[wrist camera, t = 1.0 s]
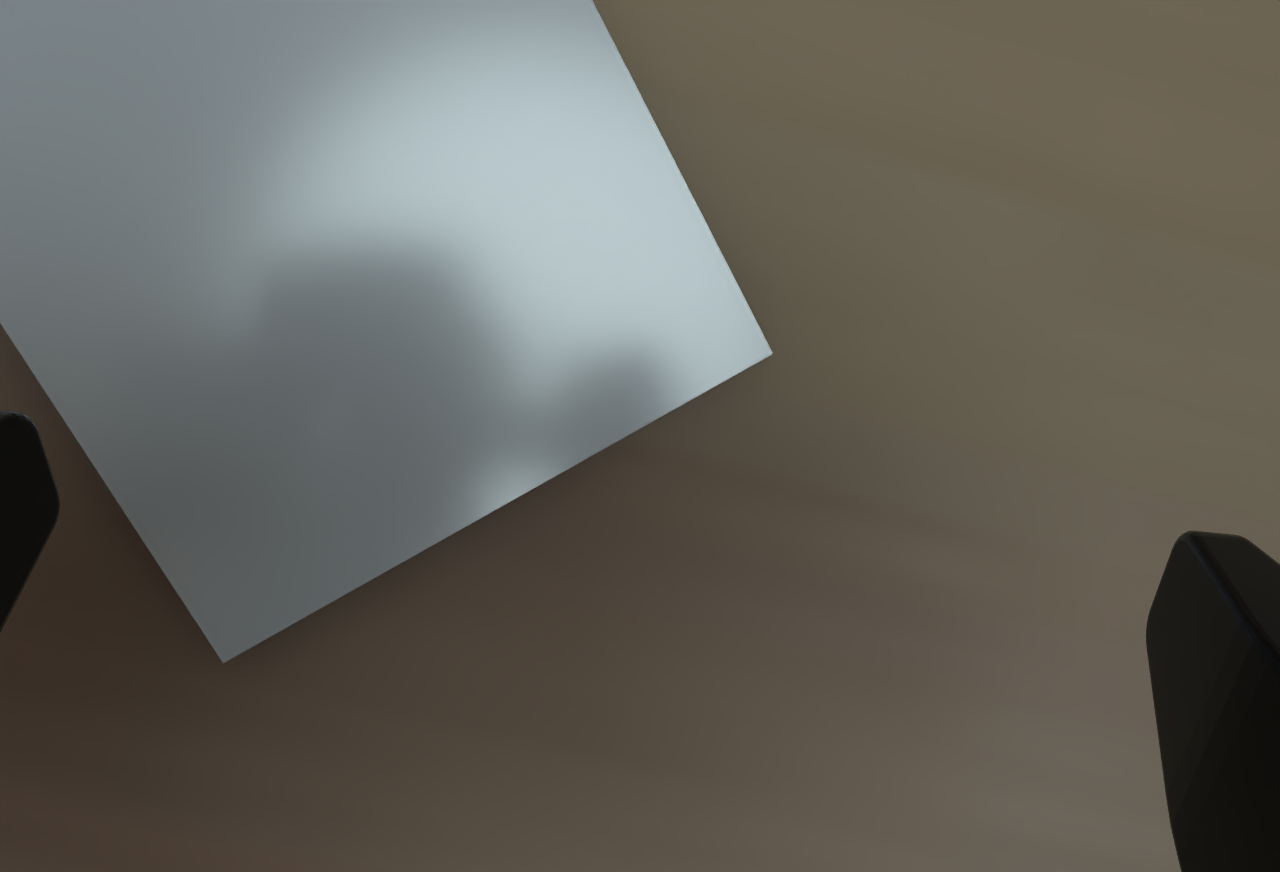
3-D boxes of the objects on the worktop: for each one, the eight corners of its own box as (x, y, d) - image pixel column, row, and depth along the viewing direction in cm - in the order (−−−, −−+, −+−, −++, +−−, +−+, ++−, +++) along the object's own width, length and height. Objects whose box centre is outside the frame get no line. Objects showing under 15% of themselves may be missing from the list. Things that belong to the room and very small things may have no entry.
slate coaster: (230, 652, 20) (223, 663, 20) (-144, 81, 18) (-164, 74, 18) (764, 351, 21) (773, 353, 21) (465, -230, 19) (466, -246, 18)
